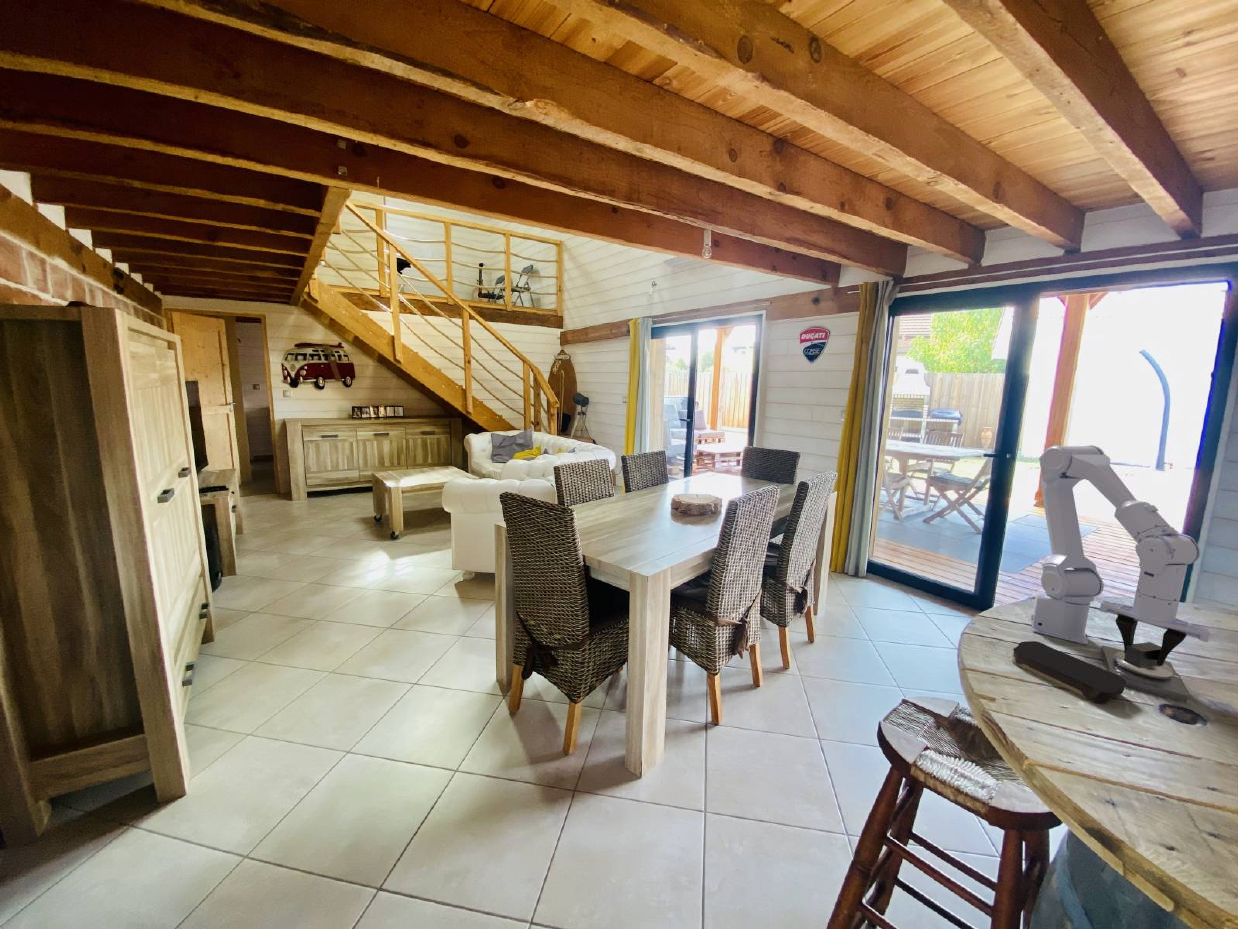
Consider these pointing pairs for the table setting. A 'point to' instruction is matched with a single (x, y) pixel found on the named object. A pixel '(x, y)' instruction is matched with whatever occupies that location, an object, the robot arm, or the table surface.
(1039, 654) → the dark scrub brush
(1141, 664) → the dial
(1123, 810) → the table surface
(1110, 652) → the dial plate
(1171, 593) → the robot arm
